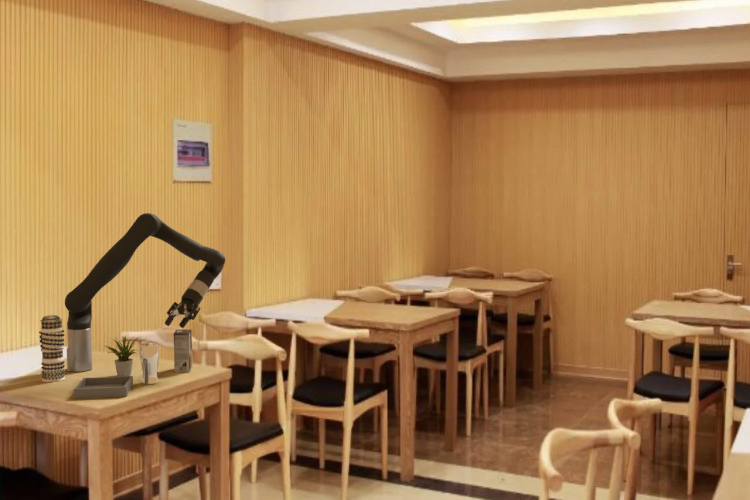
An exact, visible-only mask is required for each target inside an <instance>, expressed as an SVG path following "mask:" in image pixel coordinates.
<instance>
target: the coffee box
mask: <svg viewBox="0 0 750 500" xmlns="http://www.w3.org/2000/svg"><path fill="white" fill-rule="evenodd" d="M192 336H193V334H192V329H185V328H181V329H175V331H174V333H173V359H174V360H173V363H174V367H173V368H174V373H191V371H192V369H193V339H192V338H193V337H192Z"/></svg>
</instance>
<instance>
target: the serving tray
mask: <svg viewBox="0 0 750 500" xmlns="http://www.w3.org/2000/svg"><path fill="white" fill-rule="evenodd" d="M133 386H134V376H133V375H131V376H120V377H118V376H97V377H82V379H81V380H80V382H79V383H77V384H76V386H75V388H74V389H73V399H74V400H79V399H80V400H81V399H82V400H83V399H102V398H103V399H104V398H108V399H109V398H124V397H125V398H126V397H128V395H129V394H130V392H131V389H132V388H133Z"/></svg>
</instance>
